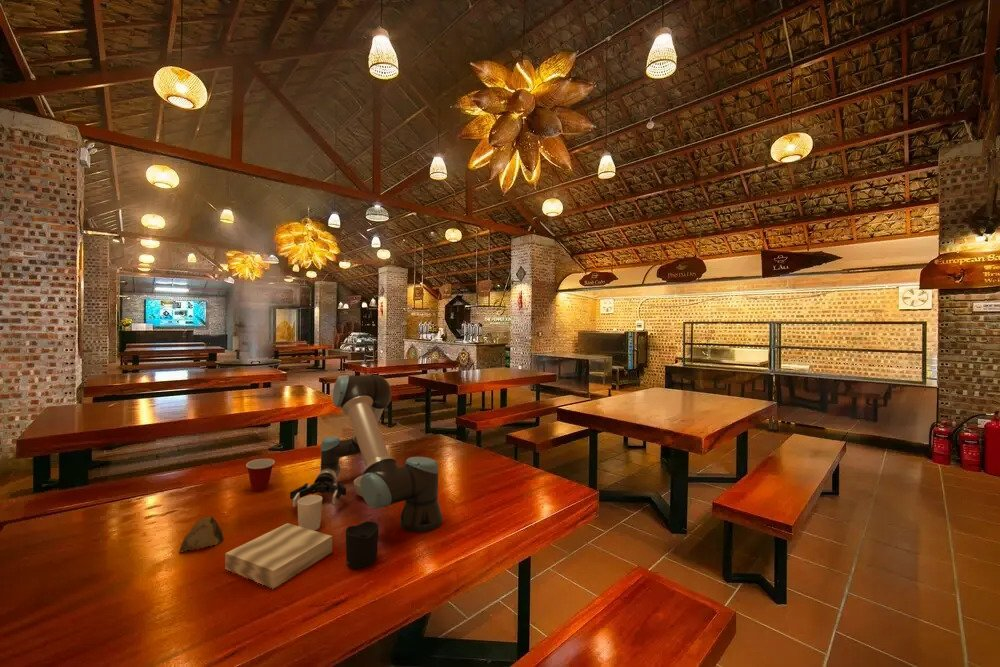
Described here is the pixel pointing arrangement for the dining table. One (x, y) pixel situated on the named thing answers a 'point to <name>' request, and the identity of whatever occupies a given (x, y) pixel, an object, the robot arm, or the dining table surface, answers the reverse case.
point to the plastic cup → (260, 473)
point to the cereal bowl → (358, 486)
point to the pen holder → (362, 545)
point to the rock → (202, 535)
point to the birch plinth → (278, 554)
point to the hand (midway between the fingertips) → (313, 501)
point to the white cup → (310, 512)
